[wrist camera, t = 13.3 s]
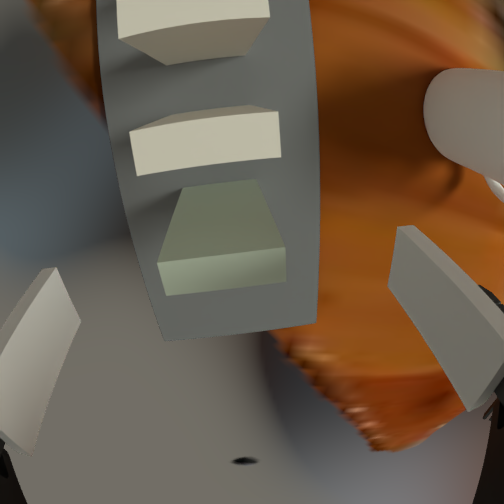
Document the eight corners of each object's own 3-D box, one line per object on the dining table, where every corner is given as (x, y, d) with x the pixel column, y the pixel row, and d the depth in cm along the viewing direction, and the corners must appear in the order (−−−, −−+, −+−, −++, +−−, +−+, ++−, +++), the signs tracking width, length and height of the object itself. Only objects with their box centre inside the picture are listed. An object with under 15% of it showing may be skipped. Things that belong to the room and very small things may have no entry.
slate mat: (107, -110, 7) (105, -113, 6) (281, -130, 8) (282, -134, 7) (165, 336, 27) (164, 341, 27) (314, 318, 28) (316, 322, 27)
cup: (465, 55, 17) (556, 63, 8) (501, 167, 22) (574, 206, 13) (404, 90, 19) (503, 103, 10) (450, 209, 24) (525, 264, 15)
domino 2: (172, 114, 18) (129, 131, 9) (249, 104, 18) (278, 111, 9) (175, 138, 19) (137, 176, 10) (251, 128, 19) (281, 157, 10)
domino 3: (257, 200, 21) (286, 281, 13) (186, 209, 21) (166, 295, 12) (255, 178, 21) (285, 247, 12) (182, 188, 20) (156, 262, 12)
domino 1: (164, 43, 15) (116, 0, 7) (243, 33, 16) (265, -22, 7) (166, 65, 16) (118, 38, 8) (245, 55, 16) (270, 17, 8)
